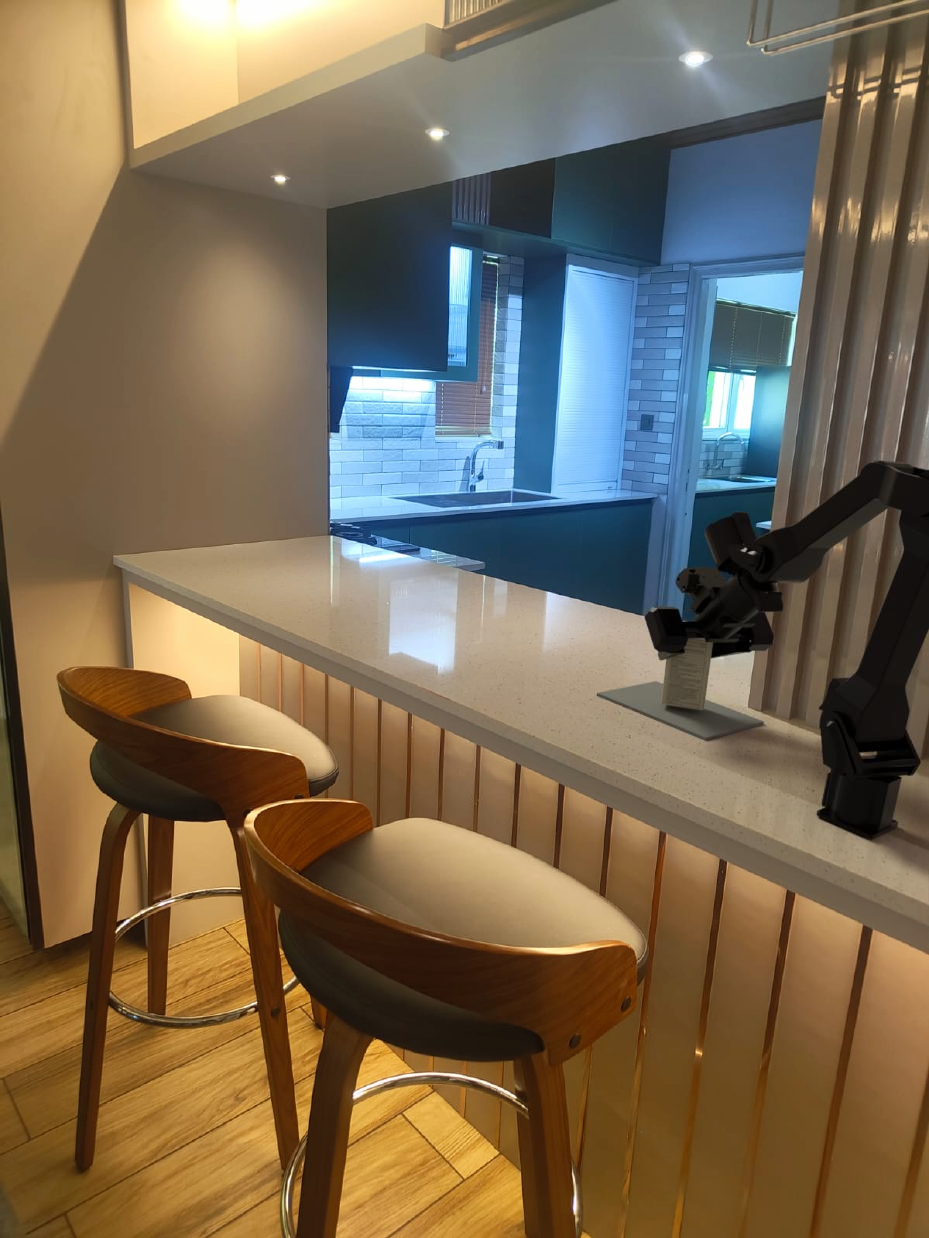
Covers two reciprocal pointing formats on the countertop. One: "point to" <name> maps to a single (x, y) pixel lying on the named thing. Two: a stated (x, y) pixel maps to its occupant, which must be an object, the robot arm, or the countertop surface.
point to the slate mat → (681, 711)
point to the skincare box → (688, 676)
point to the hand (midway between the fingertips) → (681, 657)
